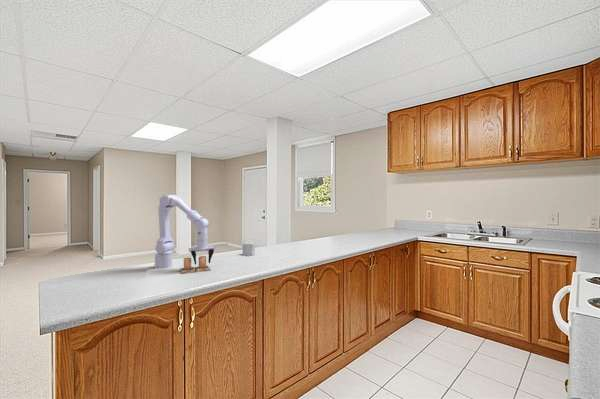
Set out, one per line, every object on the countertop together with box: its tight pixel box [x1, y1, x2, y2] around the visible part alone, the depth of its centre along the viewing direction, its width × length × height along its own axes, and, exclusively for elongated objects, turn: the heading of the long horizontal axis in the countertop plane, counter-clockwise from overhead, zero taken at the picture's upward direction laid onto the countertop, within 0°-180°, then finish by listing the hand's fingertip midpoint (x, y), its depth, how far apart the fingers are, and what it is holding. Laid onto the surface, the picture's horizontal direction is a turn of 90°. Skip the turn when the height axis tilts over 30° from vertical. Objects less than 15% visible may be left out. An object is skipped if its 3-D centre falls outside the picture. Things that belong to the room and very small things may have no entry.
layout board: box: [179, 264, 212, 275], centre depth 162 cm, size 16×12×2 cm
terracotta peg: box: [198, 255, 207, 269], centre depth 163 cm, size 4×4×7 cm
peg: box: [183, 257, 192, 271], centre depth 160 cm, size 4×4×7 cm
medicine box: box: [241, 242, 256, 257], centre depth 206 cm, size 8×4×9 cm, turn 71°
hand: (202, 263), depth 163 cm, fingers open, 7 cm apart
